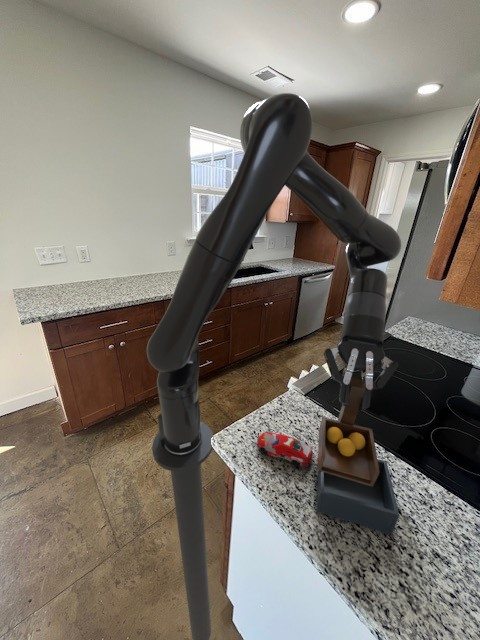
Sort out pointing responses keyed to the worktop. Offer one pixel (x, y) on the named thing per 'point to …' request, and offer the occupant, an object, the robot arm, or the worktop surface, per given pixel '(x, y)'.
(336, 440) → the ball
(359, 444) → the ball
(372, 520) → the bin
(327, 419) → the scoop
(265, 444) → the race car
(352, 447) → the ball
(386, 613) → the worktop surface
